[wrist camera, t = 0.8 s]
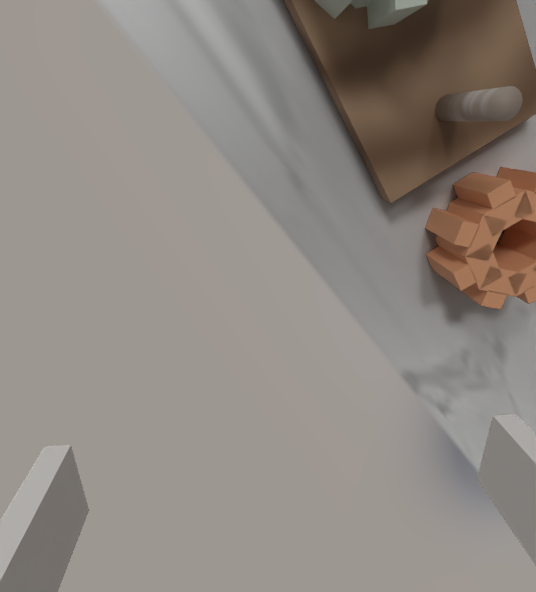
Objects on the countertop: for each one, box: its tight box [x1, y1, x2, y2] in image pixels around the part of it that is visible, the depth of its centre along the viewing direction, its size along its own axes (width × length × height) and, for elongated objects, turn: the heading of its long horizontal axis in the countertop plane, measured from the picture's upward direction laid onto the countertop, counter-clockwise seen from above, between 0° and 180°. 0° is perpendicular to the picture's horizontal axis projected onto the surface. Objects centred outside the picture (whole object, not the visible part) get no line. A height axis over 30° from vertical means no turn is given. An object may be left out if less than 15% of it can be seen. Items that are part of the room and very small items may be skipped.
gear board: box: [284, 0, 536, 203], centre depth 25 cm, size 20×13×9 cm, turn 32°
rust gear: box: [425, 167, 536, 309], centre depth 33 cm, size 11×11×5 cm
